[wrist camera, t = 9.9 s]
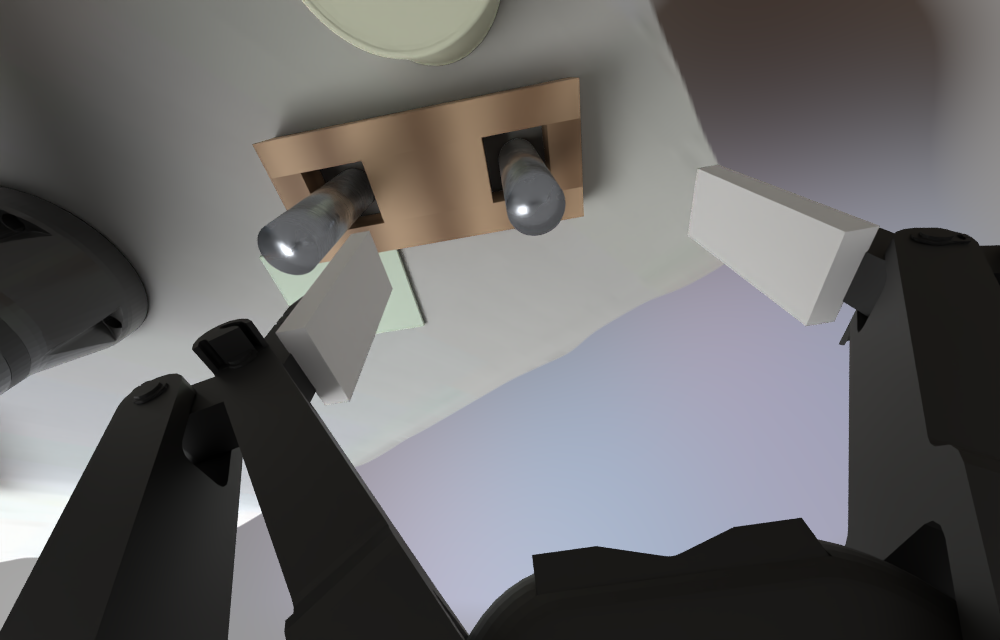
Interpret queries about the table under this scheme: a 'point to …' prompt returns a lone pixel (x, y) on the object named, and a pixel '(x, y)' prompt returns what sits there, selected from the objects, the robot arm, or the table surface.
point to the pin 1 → (315, 223)
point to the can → (409, 26)
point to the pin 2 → (529, 189)
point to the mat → (399, 306)
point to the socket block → (434, 163)
